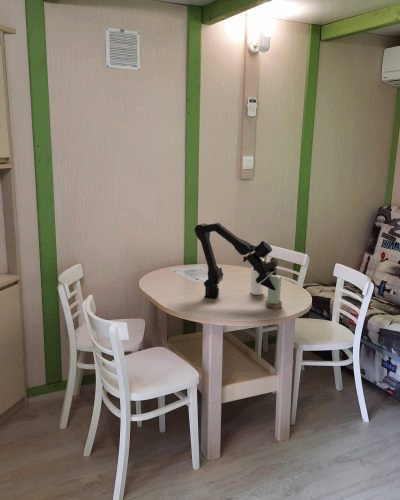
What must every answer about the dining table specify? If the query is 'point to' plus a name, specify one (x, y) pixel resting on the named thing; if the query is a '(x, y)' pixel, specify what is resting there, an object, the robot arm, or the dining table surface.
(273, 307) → the walnut plinth
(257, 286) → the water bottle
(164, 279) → the dining table surface
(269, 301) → the sage post
